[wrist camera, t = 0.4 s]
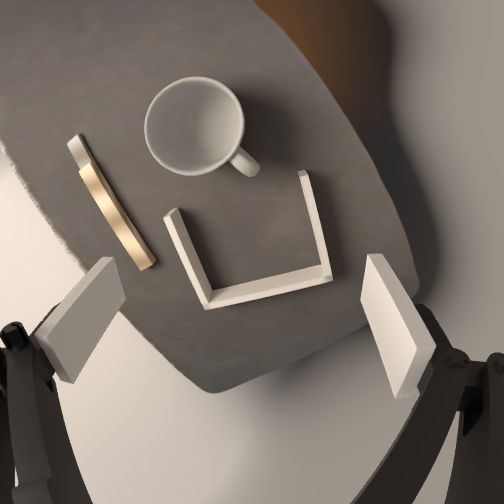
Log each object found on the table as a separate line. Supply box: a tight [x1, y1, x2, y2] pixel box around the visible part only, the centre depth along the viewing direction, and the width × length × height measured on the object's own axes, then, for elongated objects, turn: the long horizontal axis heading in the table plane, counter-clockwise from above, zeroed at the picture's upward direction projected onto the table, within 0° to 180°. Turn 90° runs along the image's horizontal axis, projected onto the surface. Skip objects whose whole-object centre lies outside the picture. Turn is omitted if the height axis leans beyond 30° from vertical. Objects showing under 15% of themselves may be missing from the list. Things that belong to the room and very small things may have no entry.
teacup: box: [145, 77, 260, 177], centre depth 33 cm, size 14×11×8 cm
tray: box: [163, 170, 333, 310], centre depth 41 cm, size 15×19×4 cm
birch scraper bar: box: [67, 134, 156, 270], centre depth 41 cm, size 23×2×2 cm, turn 28°
